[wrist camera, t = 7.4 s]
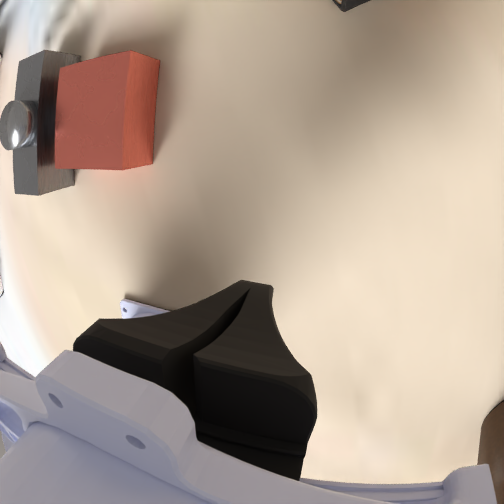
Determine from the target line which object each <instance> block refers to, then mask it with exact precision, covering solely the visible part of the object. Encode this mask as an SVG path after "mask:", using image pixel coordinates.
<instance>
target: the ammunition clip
mask: <svg viewBox="0 0 504 504" xmlns="http://www.w3.org/2000/svg"><path fill="white" fill-rule="evenodd" d="M333 1H334V3H335V4H336V5H337V6H338V7H339V8H340V9H341V10H342V11H343V12H345V11H347V10H349V9H352V8H354V7H356V6H358V5H361V4H363V3H365V2H368V1H370V0H333Z"/></svg>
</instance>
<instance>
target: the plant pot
mask: <svg viewBox="0 0 504 504" xmlns="http://www.w3.org/2000/svg"><path fill="white" fill-rule="evenodd" d="M482 464H489V468H490V472H491V477H492V481H493V486H494V491H495V496H496V501H497V504H504V401H503V402H502V403H500V404H499V405H498V406H497V407H495V408H494V409H493V410H492V411H491V412H490V413H489V415H488V416H487V417H486V419H485V420H484V422H483V424H482V427H481V436H480V445H479V454H478V464H477V465H482Z"/></svg>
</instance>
